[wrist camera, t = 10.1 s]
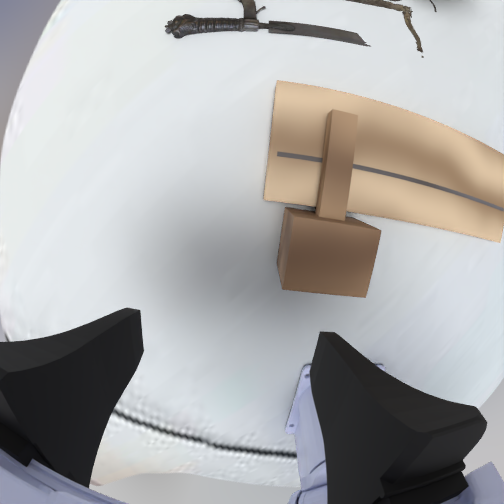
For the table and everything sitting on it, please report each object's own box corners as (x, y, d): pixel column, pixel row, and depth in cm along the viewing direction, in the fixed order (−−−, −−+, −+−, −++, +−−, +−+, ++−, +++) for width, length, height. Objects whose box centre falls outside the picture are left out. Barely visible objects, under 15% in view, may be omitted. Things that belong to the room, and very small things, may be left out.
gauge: (342, 270, 20) (365, 297, 15) (276, 262, 20) (282, 289, 15) (364, 130, 17) (395, 117, 12) (296, 115, 17) (309, 95, 12)
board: (490, 239, 19) (500, 243, 17) (263, 198, 19) (263, 200, 17) (499, 158, 17) (510, 158, 15) (275, 87, 17) (277, 79, 15)
